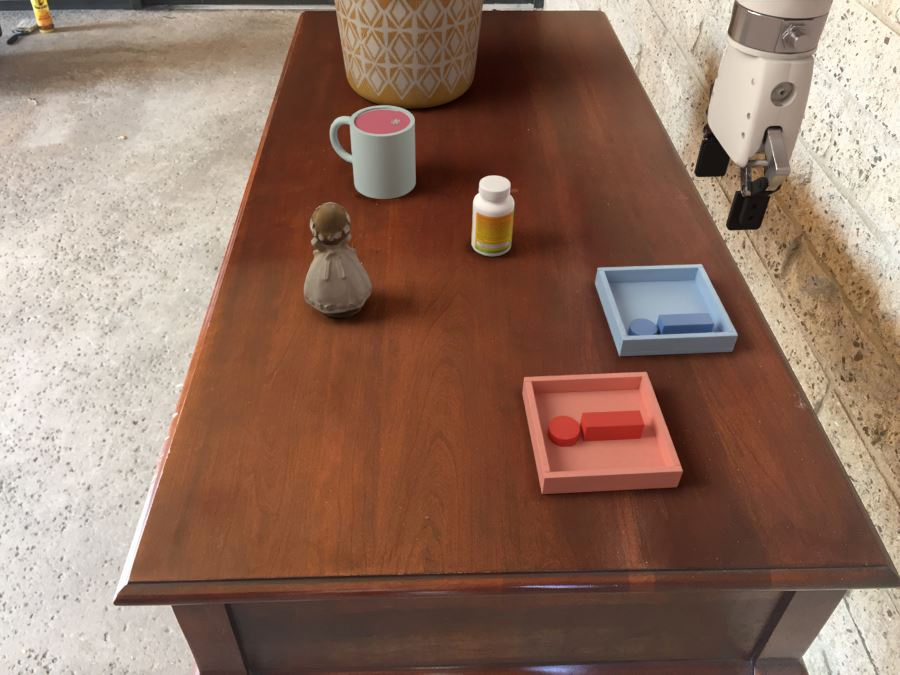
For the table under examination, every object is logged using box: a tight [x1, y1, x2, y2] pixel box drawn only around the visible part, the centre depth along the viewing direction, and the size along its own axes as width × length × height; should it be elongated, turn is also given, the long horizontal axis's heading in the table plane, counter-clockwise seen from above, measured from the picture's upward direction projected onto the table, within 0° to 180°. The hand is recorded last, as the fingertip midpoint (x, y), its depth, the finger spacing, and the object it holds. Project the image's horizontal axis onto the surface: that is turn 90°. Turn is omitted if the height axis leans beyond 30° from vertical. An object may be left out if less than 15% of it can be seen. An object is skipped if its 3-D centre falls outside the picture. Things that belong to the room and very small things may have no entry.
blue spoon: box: [628, 313, 714, 336], centre depth 91 cm, size 3×10×2 cm, turn 94°
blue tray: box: [594, 263, 739, 357], centre depth 94 cm, size 13×13×3 cm
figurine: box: [303, 201, 373, 320], centre depth 90 cm, size 8×7×15 cm
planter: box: [333, 0, 484, 110], centre depth 133 cm, size 26×26×22 cm
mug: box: [329, 104, 417, 200], centre depth 114 cm, size 14×9×10 cm
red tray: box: [522, 371, 684, 495], centre depth 80 cm, size 13×13×3 cm
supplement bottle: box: [471, 174, 515, 257], centre depth 102 cm, size 5×5×10 cm
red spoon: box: [548, 410, 645, 447], centre depth 79 cm, size 3×10×2 cm, turn 94°
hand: (724, 200), depth 77 cm, fingers open, 9 cm apart
